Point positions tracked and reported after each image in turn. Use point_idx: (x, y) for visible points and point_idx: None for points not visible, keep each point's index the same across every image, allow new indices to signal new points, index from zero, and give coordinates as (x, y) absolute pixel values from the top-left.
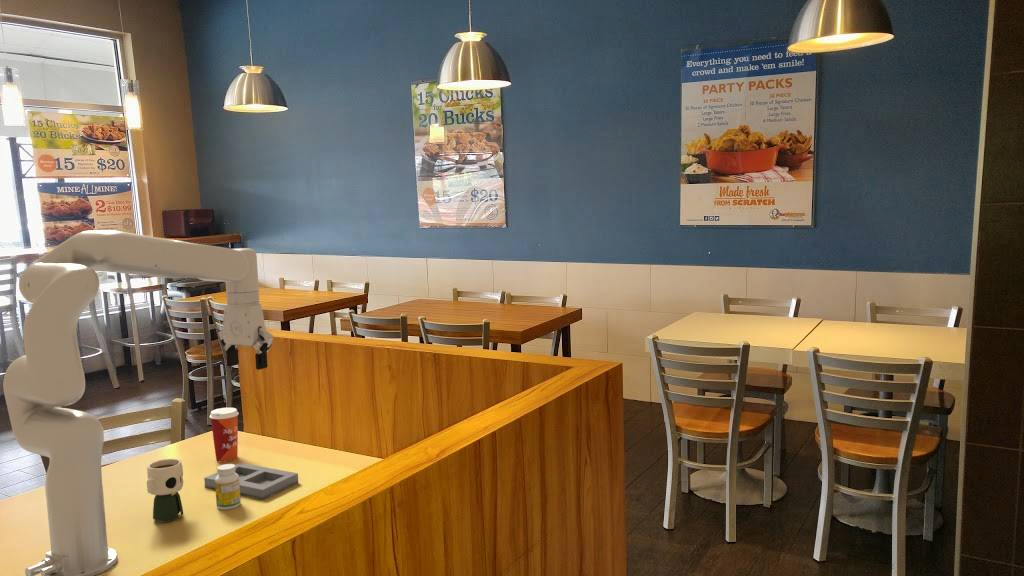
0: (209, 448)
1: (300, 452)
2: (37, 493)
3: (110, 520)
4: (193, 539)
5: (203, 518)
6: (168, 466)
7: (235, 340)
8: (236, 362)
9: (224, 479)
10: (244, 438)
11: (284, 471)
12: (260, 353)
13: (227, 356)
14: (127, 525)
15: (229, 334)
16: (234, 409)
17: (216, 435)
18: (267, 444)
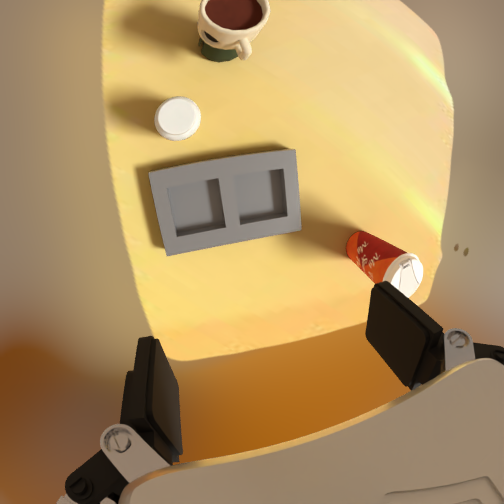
0: None
1: (281, 323)
2: (437, 55)
3: (292, 11)
4: (119, 34)
5: (170, 72)
6: (242, 22)
7: (388, 452)
8: (372, 332)
9: (162, 104)
10: None
11: (195, 248)
12: (118, 430)
13: (414, 310)
14: None
15: (490, 447)
16: None
17: (384, 244)
18: (349, 311)
